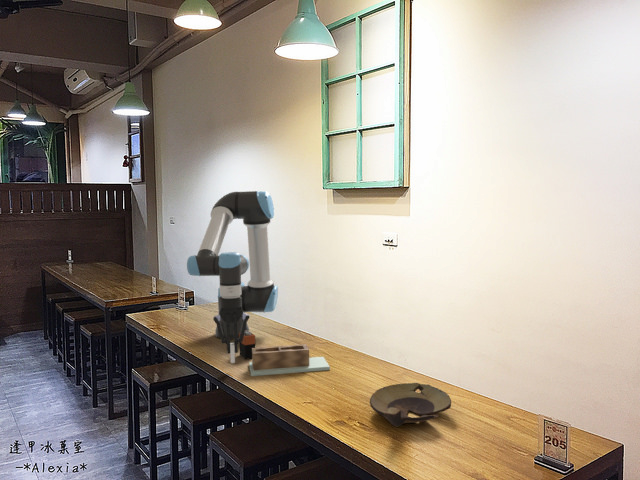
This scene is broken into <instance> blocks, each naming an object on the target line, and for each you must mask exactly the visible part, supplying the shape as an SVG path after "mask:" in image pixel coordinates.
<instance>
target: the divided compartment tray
mask: <svg viewBox="0 0 640 480" xmlns="http://www.w3.org/2000/svg"><path fill="white" fill-rule="evenodd" d="M309 358H310V349H309V347H308V345H307V344H305V343H304V344H294V345H293V344H292V345H290V344H289V345H279V346H263V347H255V348H252V358H251V362H252V365H253V370H264V369H277V368H290V367H303V366H309Z"/></svg>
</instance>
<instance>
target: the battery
mask: <svg viewBox="0 0 640 480" xmlns="http://www.w3.org/2000/svg"><path fill="white" fill-rule="evenodd" d="M239 337H240V333H239ZM238 344H239V345H238V348H239V356H241V357H242V358H244V359H245V360H249V359H251V360H252V348H256V335H255V334H254V333H252V332H251V331H250V330H249V331H247V330H245V333H244V337H243V341H242V342H240V343H238Z"/></svg>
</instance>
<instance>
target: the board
mask: <svg viewBox="0 0 640 480" xmlns="http://www.w3.org/2000/svg"><path fill="white" fill-rule="evenodd" d="M248 364H249V372H250V376H251V377H257V376H270V375H284V374H295V373H306V372H307V373H308V372H317V371H318V372H320V371H330V370H331V368H330V367H331V366H330V365H329V363H328V361H327V360H326V359H325V357H324V356H312V357H309V366H303V367H290V368H277V369H264V370H253V365H252V361H249V362H248Z"/></svg>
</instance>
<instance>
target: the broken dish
mask: <svg viewBox="0 0 640 480" xmlns="http://www.w3.org/2000/svg"><path fill="white" fill-rule="evenodd" d="M417 390H419V391H420V392H418V391H417ZM369 404H370V407H371V409H372V410H374V412H375V413H376V414H378V415H380V416H382V417H384V418H385V419H386V420H387V421H388V422H389V423H390V424H391V425H392V426H394V427H396V428H397V427H400V426H402V425H403V424H411V423H421V422H426V421H430V420H433V419H436V418H438V417H439V415H437V414H440V413H442V412H445V411H448V410H449V409H451V407H452V399H451V397H450V395H449V394H448V393H447V392H445V391H444V390H442V389H439V388H438V387H435V386H433V385H430V384H426V383H419V382H411V383H408V382H407V383H396V384H391V385H387V386H384V387H381V388H378V389H377V390H375V392H373V393H372V394H371V396H370V398H369ZM409 412H411V413H413V414H416V415H417V417H416V416H415V417H412V416H409V415H408V414H409Z"/></svg>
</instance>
